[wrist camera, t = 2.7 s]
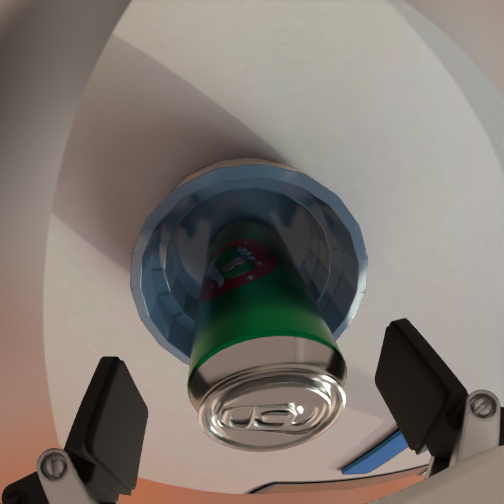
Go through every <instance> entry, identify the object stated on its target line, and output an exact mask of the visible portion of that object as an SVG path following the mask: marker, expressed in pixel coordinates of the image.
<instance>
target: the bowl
mask: <svg viewBox="0 0 504 504" xmlns="http://www.w3.org/2000/svg"><path fill="white" fill-rule="evenodd" d="M240 221H256V222H260V223H263V224H266V225H268V226H270V227H271V228H273V229H274V230H275V231H276V232H277V233H278V234H279V235H280V236H281V237H282V239H283V241H284V242H285V244H286V246H287V248H288V250H289V252H290V254H291V255H292V257H293V259H294V261H295V263H296V265H297V267H298V269H299V271H300V273H301V274H302V276H303V278H304V280H305V282H306V284H307V286H308V288H309V290H310V292H311V294H312V296H313V298H314V300H315V302H316V304H317V306H318V307H319V309H320V311H321V313H322V315H323V317H324V319H325V321H326V323H327V325H328V327H329V329H330V331H331V333H332V335H333V337H334V339H335V341H336V340H337V339H338V338H339V337H340V335H341V334H342V333H343V332H344V331H345V330H346V328H347V327H348V326H349V325H350V323H351V322H352V320H353V319H354V317H355V314H356V312H357V310H358V307H359V305H360V303H361V301H362V298H363V296H364V293H365V289H366V279H367V268H368V256H367V252H366V248H365V245H364V241H363V237H362V233H361V230H360V227H359V224H358V223H357V221H356V220H355V219H354V217H353V216H352V214H351V213H350V212H349V210H348V209H347V207H346V206H345V205H344V203H343V202H342V200H341V199H340V198H339V197H338V196H337V195H336V194H335V193H333V192H332V191H330V190H329V189H327V188H326V187H324V186H323V185H321V184H320V183H318V182H317V181H315V180H314V179H312V178H311V177H309V176H308V175H306V174H304V173H302V172H300V171H298V170H296V169H293V168H291V167H289V166H287V165H284V164H280V163H276V162H272V161H267V160H263V159H259V158H241V159H232V160H223V161H220V162H219V161H218V162H216V163H214V164H212V165H210V166H207V167H205V168H203V169H201V170H199V171H197V172H195V173H193V174H191V175H189V176H188V177H187V178H186V179H185V180H183V181H182V182H181V183H180V184H179V185H178V186H177V187H176V188H175V189H174V190H173V191H172V192H171V193H170V194H169V195H168V196H167V197H166V198H165V199H164V200H163V201H162V202H161V203H160V204H159V205H158V206H157V207H156V208H155V209H154V210H153V211H152V212H151V213H150V215H149V216H148V217H147V218H146V220H145V223H144V225H143V227H142V229H141V232H140V234H139V236H138V239H137V241H136V243H135V246H134V248H133V250H132V257H131V279H130V287H131V291H132V295H133V298H134V301H135V304H136V307H137V310H138V313H139V316H140V318H141V321H142V322H143V323H144V325H145V326H146V328H147V329H148V330H149V332H150V333H151V334H152V336H153V337H154V338H155V340H156V341H157V342H158V344H160V346H162V347H163V348H164V349H166V350H167V351H168V352H170V353H171V354H172V355H174V356H175V357H177V358H178V359H179V360H181V361H182V362H183V363H185V364H187V365H190V359H191V351H192V343H193V336H194V329H195V322H196V315H197V308H198V301H199V295H200V288H201V282H202V276H203V270H204V264H205V258H206V252H207V248H208V246H209V244H210V242H211V240H212V239H213V237H214V236H215V235H216V234H217V233H218V232H219V231H220V230H221V229H223V228H224V227H226V226H228V225H230V224H233V223H235V222H240Z"/></svg>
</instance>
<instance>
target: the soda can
mask: <svg viewBox="0 0 504 504" xmlns="http://www.w3.org/2000/svg"><path fill="white" fill-rule="evenodd" d="M346 378H347V367H346V363H345V360H344V358H343V356H342V354H341V352H340V350H339V348H338V346H337V343H336V341H335V339H334V337H333V335H332V333H331V331H330V329H329V327H328V325H327V323H326V321H325V319H324V317H323V315H322V313H321V311H320V309H319V307H318V306H317V304H316V302H315V300H314V298H313V296H312V294H311V292H310V290H309V288H308V286H307V284H306V282H305V280H304V278H303V276H302V274H301V273H300V271H299V269H298V267H297V265H296V263H295V261H294V259H293V257H292V255H291V254H290V252H289V250H288V248H287V246H286V244H285V242H284V241H283V239H282V237H281V236H280V235H279V234H278V233H277V232H276V231H275V230H274V229H273V228H271V227H270V226H268V225H266V224H263V223H260V222H256V221H240V222H235V223H233V224H230V225H228V226H226V227H224V228H223V229H221V230H220V231H219V232H218V233H217V234H216V235H215V236H214V237H213V239H212V240H211V242H210V244H209V246H208V248H207V252H206V258H205V264H204V270H203V276H202V282H201V288H200V295H199V301H198V308H197V315H196V322H195V329H194V336H193V343H192V351H191V359H190V367H189V375H188V384H187V388H188V396H189V399H190V402H191V403H192V405H193V407H194V408H195V410H196V411H197V412H198V420H199V423H200V426H201V428H202V430H203V431H204V432H205V433H206V434H207V435H208V436H209V437H210V438H211V439H213V440H214V441H216V442H218V443H220V444H222V445H224V446H227V447H230V448H233V449H237V450H243V451H253V452H266V451H276V450H282V449H287V448H291V447H294V446H298V445H300V444H303V443H306V442H308V441H310V440H312V439H314V438H316V437H318V436H319V435H321V434H323V433H324V432H325V431H327V430H328V429H329V428H330V427H331V426H332V425H333V424H334V423H335V422H336V421H337V420H338V419H339V417H340V416H341V414H342V412H343V410H344V407H345V402H346V395H345V391H344V386H345V382H346Z"/></svg>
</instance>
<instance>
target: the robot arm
mask: <svg viewBox="0 0 504 504" xmlns="http://www.w3.org/2000/svg"><path fill="white" fill-rule="evenodd" d="M375 384H376V386H377V388H378V390H379V392H380V393H381V395H382V397H383V399H384V401H385V403H386V404H387V406H388V408H389V410H390V412H391V414H392V416H393V417H394V419H395V421H396V423H397V425H398V427H399V429H400V431H401V433H402V435H403V436H404V438H405V440H406V442H407V444H408V446H409V448H410V449H411V450H415V452H416V454H417V455H418V454H421V453H423V452H425V451H427V450H429V452H430V454H431V459H430V462H429V465H428V469H427V472H426V475H425V478H424V480H423V481H421V482H418V483H416V484H414V485H412V486H409V487H407V488H405V489H402V490H400V491H398V492H395V493H393V494H390V495H388V496H385V497H382V498H380V499H377V500H374V501H371V502H368V503H366V504H504V407H500V402H499V400H498V398H497V397H496V396H495V395H494V394H493V393H492V392H490V391H487V390H476V391H474V392H472V393H471V394H470V395H468V393H467V390H466V389H465V387H464V386H463V385H462V384H461V382H460V381H459V380H458V379H457V377H456V376H455V375H454V374H453V372H452V371H451V370H450V369H449V367H448V366H447V365H446V364H445V362H444V361H443V360H442V359H441V358H440V356H439V355H438V354H437V353H436V352H435V350H434V349H433V348H432V347H431V346H430V344H429V343H428V342H427V341H426V340H425V339H424V337H423V336H422V335H421V334H420V333H419V332H418V331H417V329H416V328H415V327H414V326H413V325H412V324H411V323H410V321H409V320H408V319H406V318H403V319H399V320H395V321H392V322H391V323H390V325H389V326H388V327H387V328H386V331H385V336H384V341H383V345H382V350H381V354H380V358H379V363H378V367H377V371H376V374H375ZM147 419H148V409H147V406H146V404H145V402H144V401H143V399H142V397H141V395H140V393H139V391H138V389H137V387H136V385H135V383H134V381H133V379H132V377H131V375H130V373H129V371H128V369H127V367H126V365H125V363H124V361H122V360H120V359H119V358H118V357H102V358H101V359H100V361H99V364H98V366H97V368H96V370H95V373H94V375H93V377H92V379H91V382H90V384H89V386H88V389H87V391H86V394H85V395H84V398H83V400H82V402H81V405H80V407H79V410H78V412H77V415H76V418H75V420H74V423H73V425H72V428H71V431H70V433H69V436H68V439H67V442H66V445H65V447H64V450H61V449H58V448H51V449H48V450H46V451H45V452H43V453H42V454H41V455H40V456H39V458H38V461H37V466H36V467H37V471H36V472H34V473H32V474H30V475H28V476H26V477H24V478H22V479H20V480H18V481H16V482H14V483H12V484H10V485H8V486H7V487H6V488H5V489H4V491H3V494H2V504H120V503H119V502H118V496H119V494H124V495H131V490H132V489H135V487H136V482H137V476H138V469H139V463H140V457H141V451H142V445H143V440H144V434H145V429H146V424H147ZM0 504H1V503H0Z"/></svg>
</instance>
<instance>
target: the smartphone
mask: <svg viewBox="0 0 504 504" xmlns="http://www.w3.org/2000/svg"><path fill="white" fill-rule="evenodd" d="M407 447H408V444H407V442H406V440H405V438H404V436H403V435H402V433H401V431H400V430H399V431H398V432H396V433H395V434H394V435H392V436H391V437H390V438H388V439H387V440H386V441H384V442H383V443H382V444H380V445H379V446H377V447H376V448H375V449H373V450H372V451H370V452H369V453H367V454H366V455H364V456H363V457H361V458H360V459H358V460H357V461H355V462H354V463H352V464H350V465H349V466H347V467H345V468H344V469H342V470H341V471H342V474H366V473H369V472H371V471H373V470H374V469H376V468H378V467H379V466H381V465H382V464H384V463H385V462H387V461H388V460H390V459H391V458H393V457H394V456H396V455H397V454H399V453H400V452H402V451H403V450H404V449H406V448H407Z"/></svg>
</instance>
